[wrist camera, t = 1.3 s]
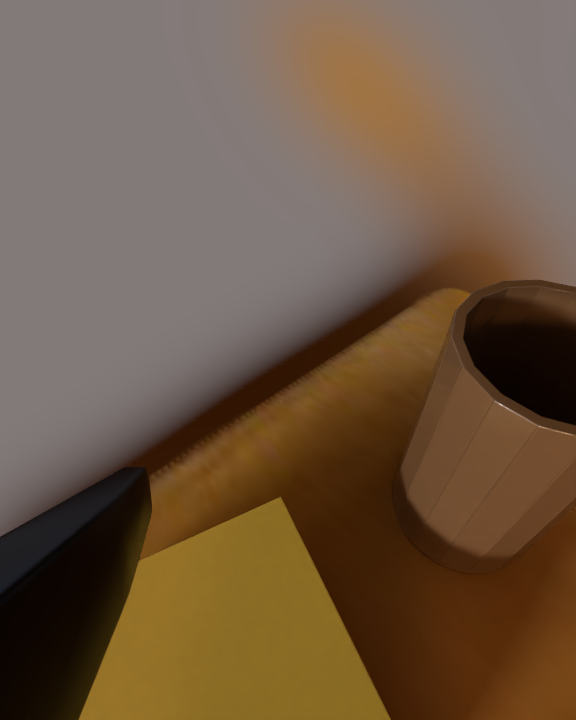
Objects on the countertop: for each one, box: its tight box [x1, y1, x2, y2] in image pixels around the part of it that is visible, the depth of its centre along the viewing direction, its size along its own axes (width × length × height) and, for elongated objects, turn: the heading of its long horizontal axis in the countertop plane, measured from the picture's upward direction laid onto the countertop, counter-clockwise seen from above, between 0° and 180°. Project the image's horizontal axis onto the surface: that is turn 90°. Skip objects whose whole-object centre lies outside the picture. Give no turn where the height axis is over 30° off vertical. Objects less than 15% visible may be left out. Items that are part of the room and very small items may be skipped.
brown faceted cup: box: [392, 280, 576, 574], centre depth 19 cm, size 7×7×12 cm
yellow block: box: [79, 497, 391, 720], centre depth 17 cm, size 11×10×4 cm
